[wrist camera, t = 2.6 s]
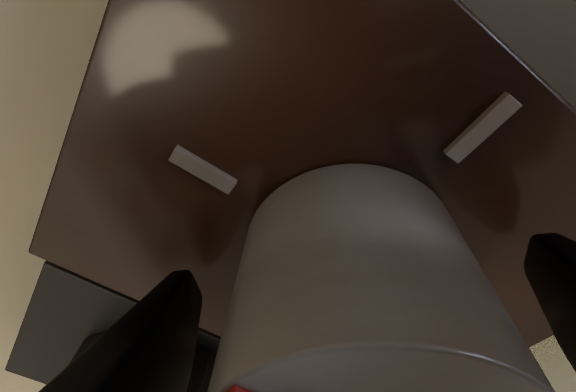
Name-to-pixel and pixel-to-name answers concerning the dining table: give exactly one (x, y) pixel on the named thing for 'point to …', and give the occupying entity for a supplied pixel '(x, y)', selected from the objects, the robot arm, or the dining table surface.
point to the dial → (365, 296)
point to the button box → (82, 327)
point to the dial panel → (299, 136)
